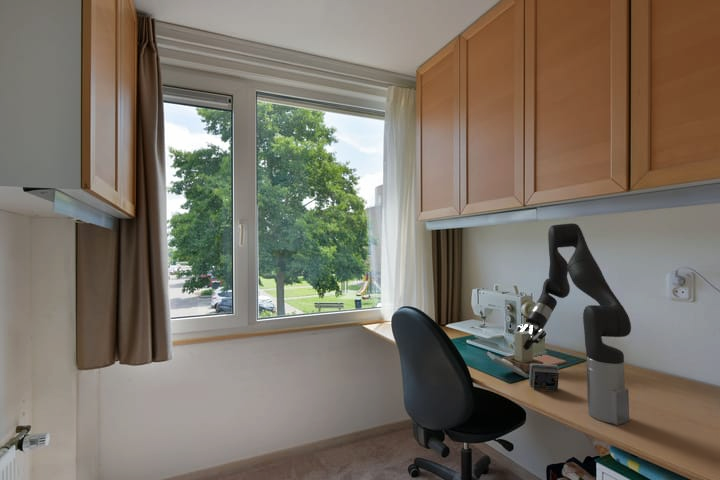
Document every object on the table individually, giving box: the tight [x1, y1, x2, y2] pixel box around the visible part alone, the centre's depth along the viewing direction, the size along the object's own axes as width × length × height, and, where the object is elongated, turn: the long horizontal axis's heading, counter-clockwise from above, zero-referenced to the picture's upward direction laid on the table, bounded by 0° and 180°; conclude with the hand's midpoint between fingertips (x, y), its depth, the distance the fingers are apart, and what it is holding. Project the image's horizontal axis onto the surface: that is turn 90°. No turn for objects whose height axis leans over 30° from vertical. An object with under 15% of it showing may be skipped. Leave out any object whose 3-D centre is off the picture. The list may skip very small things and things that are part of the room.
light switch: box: [486, 351, 528, 379], centre depth 136 cm, size 8×6×14 cm
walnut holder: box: [502, 354, 543, 374], centre depth 144 cm, size 12×10×3 cm
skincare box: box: [513, 331, 534, 363], centre depth 144 cm, size 6×4×12 cm
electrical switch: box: [528, 363, 560, 392], centre depth 121 cm, size 9×5×9 cm, turn 75°
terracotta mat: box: [533, 354, 567, 366], centre depth 151 cm, size 12×12×1 cm
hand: (520, 347), depth 143 cm, fingers closed on skincare box, 4 cm apart
